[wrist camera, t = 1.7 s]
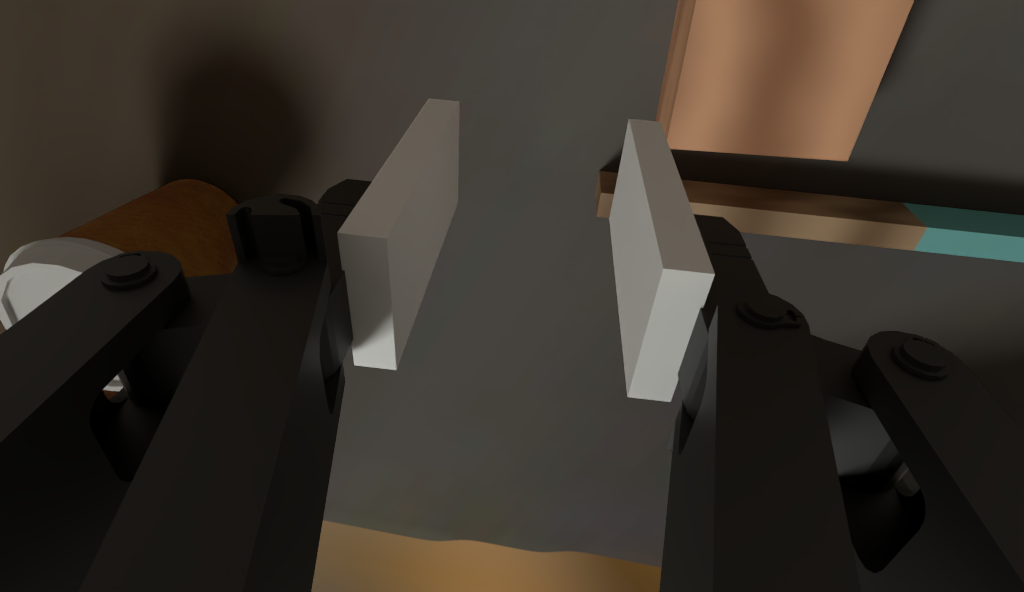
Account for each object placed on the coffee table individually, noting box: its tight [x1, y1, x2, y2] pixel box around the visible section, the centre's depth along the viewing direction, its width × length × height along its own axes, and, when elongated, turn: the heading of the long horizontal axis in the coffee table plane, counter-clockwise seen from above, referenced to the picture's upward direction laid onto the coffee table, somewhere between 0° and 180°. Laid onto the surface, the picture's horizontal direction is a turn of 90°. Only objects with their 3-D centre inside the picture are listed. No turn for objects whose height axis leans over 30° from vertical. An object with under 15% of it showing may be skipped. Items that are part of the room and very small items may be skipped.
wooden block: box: [656, 0, 914, 161], centre depth 27 cm, size 9×9×4 cm
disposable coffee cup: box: [0, 179, 238, 391], centre depth 34 cm, size 10×10×12 cm
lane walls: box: [595, 171, 927, 251], centre depth 28 cm, size 18×19×3 cm
